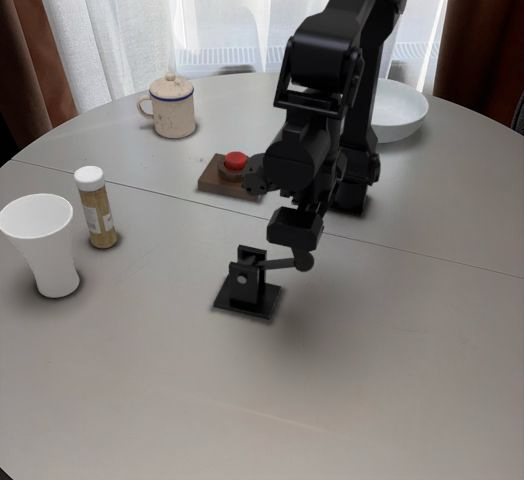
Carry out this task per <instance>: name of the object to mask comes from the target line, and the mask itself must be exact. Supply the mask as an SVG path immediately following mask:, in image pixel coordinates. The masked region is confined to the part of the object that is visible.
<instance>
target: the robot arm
mask: <svg viewBox="0 0 524 480" xmlns="http://www.w3.org/2000/svg"><path fill="white" fill-rule="evenodd" d="M407 2H408V0H328V1H327V3H326V5H325V7H324V9H322V11H321V12H318V13H317V12H316V13H315V14H312V15H308V16H307V17H305V19H303V21H302V22H301V23H300V24H299V25H298V27H297V28H296V29H295V31H294V33H293V35H291V36H289V38H288V39H287V41H286V44H285V48H284V53H283V57H282V62H281V67H280V71H279V76H278V80H277V85H276V89H275V92H274V93H275V94H274V98H273V103H272V107H273V108H276V109H281V110H286V112H285V120H284V123H283V125H282V126H281V128H280V129H279V131H278V132H277V134H276V135H275V136H274V138H273V139H272V140H271V142H270V144H269V145H268V146H267V148H266V149H265V152H260V153H259V152H258V153H255V154H253V155H251V156H249V157H250V158H249V160H248V161H247V163H246V165H245V167H244V168H243V170H242V174H243V175H242V176H241V178H242V184H241V187H242V189H244V190H246V193H247V194H248V195H250V196H258V195H262V196H265V195H267V194H268V193H271V192H278V191H279V197H280V198H285V199H290V198H291V197H292V199H291V201H290V204H291V205H292V206H297V207H296V208H293V207H289V206H284V205H281V206H280V207H278V208H276V209H275V210H273V212H272V216H271V217H270V219H269V221H268V223H267V225H266V230H265V231H266V234H265V235H266V236H265V240H266V241H267V242H268V243H269V244H272V245H276V246H281V247H285V248H286V247H287V248H290V250H291V253H292V256H293V258H294V260H296V261H300V262H302V261H303V260H304V259H305V257H306V256H307V254H308V253H309V252H310V253H311V252H314V251H316V250H317V248H318V245H319V242H320V240H321V237H322V235H323V232H324V230H325V225H324V218H325V215H326V214H327V212H328V211H332V212H336V213H342V214H347V215H352V216H356V217H362V216H363V213H364V210H365V207H366V204H367V201H368V196H369V195H368V189H369V187H373V185H374V184H375V183H378V182H379V181H380V176H381V169H382V163H381V157H380V153H379V152H378V151H377V150H378V144H379V143H378V138H377V136H376V134H375V132H374V130H373V128H372V126H371V121H372V115H373V109H374V102H375V96H376V90H377V83H378V78H380V77H379V76H380V70H381V64H382V57H383V51H384V46H385V45H384V44H385V42H386V40H387V39H388V38H389V37H390V36H391V35H392V34H393V32H394V30H395V27H396V25H397V23H398V21H399V20H400V19H399V18H400V17H401V15H404V12H405V10H406V6H407ZM290 83H291V85H293V86H296V87H302V88H305V89H304V90H303V91H299V90H294V89H288V88H289V86H290ZM341 95H342V97H341ZM344 116H345V117H344ZM343 118H344V126H343V127H342V128H341V124H342V120H343Z"/></svg>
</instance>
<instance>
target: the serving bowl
mask: <svg viewBox="0 0 524 480" xmlns="http://www.w3.org/2000/svg"><path fill="white" fill-rule="evenodd" d="M341 97H342V95H341ZM429 110H430V104H429V101H428V99H427V98H426V97H425V95H424V94H422V92H420V90H418V89H416V88H414V87H412V86H411V85H408V84H406V83H405V82H404V83H403V82H401V81H397V80H395V79H394V80H393V79H390V78H383V77H378V83H377V90H376V96H375V102H374V109H373V115H372V121H371V126H372V128H373V130H374V132H375V134H376V136H377V138H378V144H386V143H393V142H398V141H401V140H403V139H406V138H408V137H410V136H411V135H413V134H414V133H416V131H417V130H419V128H420V127H421V126H422V125H423V123H424V122H425V119H426V118H427V116H428V113H429ZM344 117H345V116H344ZM343 126H344V118H343V120H342V124H341V128H342V127H343Z"/></svg>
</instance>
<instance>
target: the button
mask: <svg viewBox="0 0 524 480" xmlns="http://www.w3.org/2000/svg"><path fill="white" fill-rule="evenodd" d="M225 155H226V156H225V166H226V168H227V169H229V170H234V171H238V170H243V168H244V167H245V165H246V163H247V157H246V155H247V154H245V152H241V151H230V152H228V153H226V154H225Z"/></svg>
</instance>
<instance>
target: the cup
mask: <svg viewBox="0 0 524 480" xmlns="http://www.w3.org/2000/svg"><path fill="white" fill-rule="evenodd" d="M73 217H74V208H73V206H72V204H71V203H70V202H69V201H68V200H67V199H65V198H64V197H62V196H59V195H58V194H52V193H35V194H28V195H24V196H22V197H19V198H17V199H14V200H12V201H11V202H9V203H8V204H6V205H5V206H4V208H2V209H1V211H0V231H1V232H2V234H4V236H5V237H6V238H7V239H8V241H10V242H11V244H13V246H14V247H15V248H16V249H17V250H18V251H19V252H20V254H21V255H22V256H23V257H24V259H25V260H26V262H27V264H28V265H29V267H30V268H31V271H32V273H33V275H34V278H35V282H36V287H37V290H38V292H39V293H40V294H41V295H42V296H45V297H46V298H55V299H56V298H63V297H66V296H68V295H70V294H72V293H73V292H75V290H76V289H78V287H79V284H80V276H79V275H78V272H77V270H76V268H75V265H74V261H73V255H72V245H71V243H72V230H73V219H74V218H73Z"/></svg>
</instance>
